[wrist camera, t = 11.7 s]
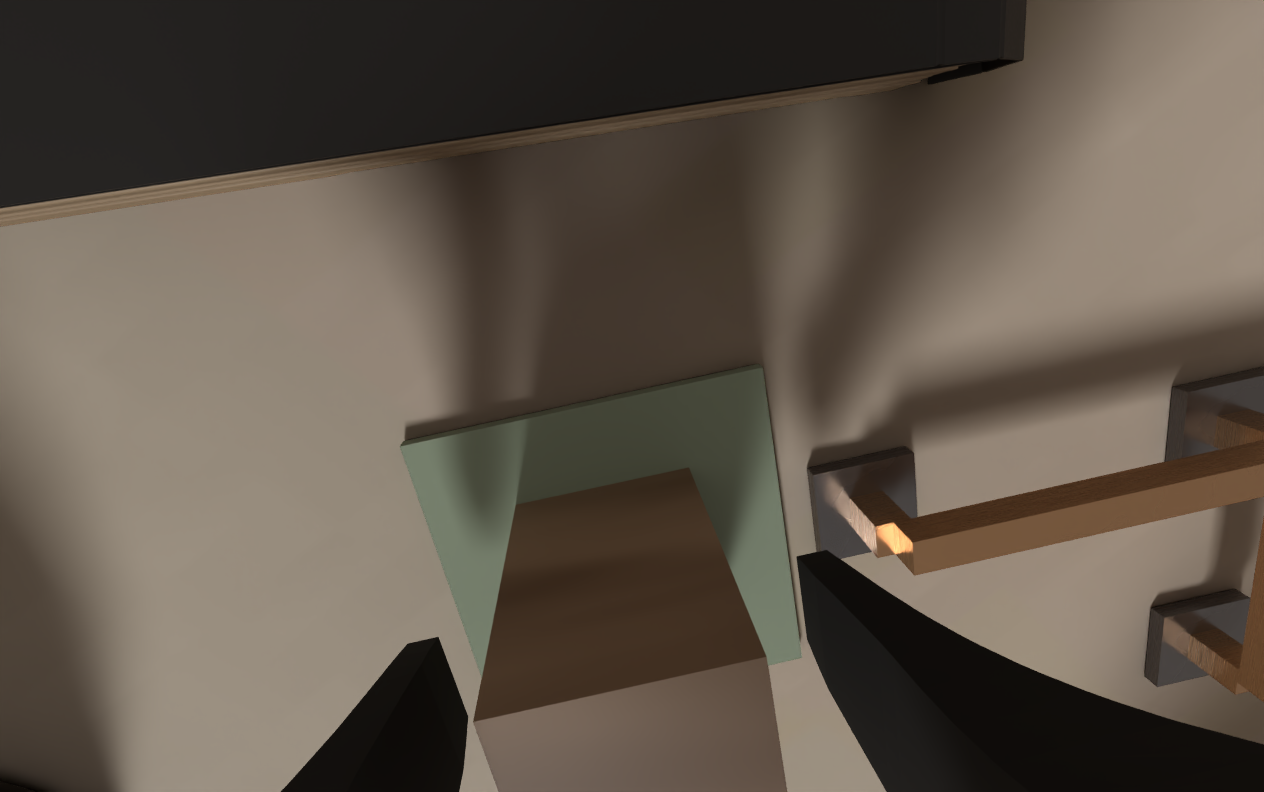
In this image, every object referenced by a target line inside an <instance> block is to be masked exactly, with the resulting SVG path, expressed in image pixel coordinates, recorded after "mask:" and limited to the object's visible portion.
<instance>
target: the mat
mask: <svg viewBox="0 0 1264 792" xmlns="http://www.w3.org/2000/svg"><path fill="white" fill-rule="evenodd" d="M400 448H401V451H402V454H403V457H404V460H405V463H406V465H407V468H408V471H409V474H410V477H411V479H412V482H413V485H414V488H415V491H416V494H417V496H418V499H419V502H420V505H421V508H422V510H423V513H424V516H425V519H426V522H427V525H428V527H429V530H430V533H431V536H432V539H433V542H434V544H435V547H436V550H437V553H438V556H439V558H440V561H441V564H442V567H443V570H444V573H445V575H446V578H447V581H448V584H449V587H450V589H451V592H452V595H453V598H454V601H455V604H456V606H457V609H458V612H459V615H460V618H461V620H462V623H463V626H464V629H465V632H466V635H467V637H468V640H469V643H470V646H471V649H472V651H473V654H474V657H475V660H476V663H477V666H478V668H479V671H480V674H481V677H482V675H483V670H484V664H485V659H486V654H487V649H488V644H489V639H490V634H491V629H492V624H493V618H494V613H495V608H496V603H497V598H498V593H499V588H500V583H501V578H502V572H503V567H504V562H505V557H506V552H507V547H508V542H509V537H510V531H511V526H512V521H513V516H514V511H515V506H516V505H517V504H522V503H526V502H531V501H536V500H540V499H545V498H549V497H554V496H559V495H563V494H568V493H573V492H577V491H582V490H587V489H591V488H596V487H600V486H605V485H610V484H614V483H619V482H624V481H628V480H633V479H637V478H642V477H647V476H651V475H656V474H661V473H665V472H670V471H675V470H679V469H684V468H688V467H689V469H690V471H691V474H692V476H693V479H694V481H695V483H696V486H697V488H698V491H699V493H700V496H701V498H702V500H703V503H704V505H705V508H706V510H707V513H708V515H709V517H710V520H711V522H712V525H713V527H714V530H715V532H716V535H717V537H718V539H719V542H720V544H721V547H722V549H723V552H724V554H725V556H726V559H727V561H728V564H729V566H730V569H731V571H732V574H733V576H734V578H735V581H736V583H737V586H738V588H739V591H740V593H741V595H742V598H743V600H744V603H745V605H746V608H747V610H748V612H749V615H750V617H751V620H752V622H753V625H754V627H755V630H756V632H757V634H758V637H759V639H760V642H761V644H762V647H763V649H764V651H765V654H766V656H767V662H768V665H772V664H777V663H781V662H786V661H790V660H794V659H799V658H802V655H801V647H800V640H799V633H798V625H797V618H796V610H795V603H794V595H793V588H792V581H791V573H790V566H789V558H788V551H787V544H786V536H785V529H784V521H783V514H782V507H781V499H780V492H779V484H778V477H777V470H776V462H775V455H774V447H773V440H772V433H771V425H770V418H769V410H768V403H767V395H766V388H765V381H764V373H763V367H762V366H761V365H760V364H755V365H751V366H746V367H742V368H737V369H732V370H728V371H723V372H719V373H714V374H709V375H705V376H700V377H696V378H691V379H687V380H682V381H677V382H673V383H668V384H664V385H659V386H654V387H650V388H645V389H641V390H636V391H632V392H627V393H622V394H618V395H613V396H609V397H604V398H599V399H595V400H590V401H586V402H581V403H577V404H572V405H567V406H563V407H558V408H554V409H549V410H544V411H540V412H535V413H531V414H526V415H522V416H517V417H512V418H508V419H503V420H499V421H494V422H489V423H485V424H480V425H476V426H471V427H467V428H462V429H457V430H453V431H448V432H444V433H439V434H434V435H430V436H425V437H421V438H416V439H412V440H407V441H403V443H402V444H401V446H400Z"/></svg>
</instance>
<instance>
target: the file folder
mask: <svg viewBox="0 0 1264 792" xmlns="http://www.w3.org/2000/svg"><path fill="white" fill-rule="evenodd" d="M1026 1H1027V0H0V227H1V226H8V225H14V224H21V223H27V222H34V221H40V220H47V219H54V218H60V217H67V216H73V215H80V214H86V213H93V212H100V211H106V210H113V209H119V208H126V207H132V206H139V205H146V204H152V203H159V202H165V201H172V200H178V199H185V198H192V197H198V196H205V195H211V194H218V193H225V192H231V191H238V190H244V189H251V188H257V187H264V186H271V185H277V184H284V183H290V182H297V181H304V180H310V179H317V178H323V177H330V176H335V175H339V174H344V173H349V172H355V171H362V170H368V169H375V168H381V167H388V166H394V165H401V164H408V163H414V162H421V161H427V160H434V159H440V158H447V157H454V156H460V155H467V154H473V153H480V152H486V151H493V150H500V149H506V148H513V147H519V146H526V145H532V144H539V143H545V142H552V141H559V140H565V139H572V138H578V137H585V136H591V135H598V134H604V133H611V132H617V131H624V130H631V129H637V128H644V127H650V126H657V125H663V124H670V123H676V122H683V121H689V120H696V119H702V118H709V117H715V116H722V115H728V114H735V113H741V112H748V111H754V110H761V109H767V108H774V107H780V106H787V105H793V104H800V103H806V102H813V101H819V100H826V99H832V98H839V97H846V96H858V95H865V94H871V93H878V92H884V91H891V90H895V89H899V88H901V87H904V86H906V85H911V84H916V83H919V82H921V79H924V78H928V84H934V83H938V82H943V81H947V80H952V79H957V78H961V77H966V76H970V75H975V74H979V73H982V72H987V71H990V70H994V69H997V68H1000V67H1003V66H1006V65H1009V64H1013V63H1016V62H1019V61H1022V60H1023V58H1024V39H1025V20H1026Z"/></svg>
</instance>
